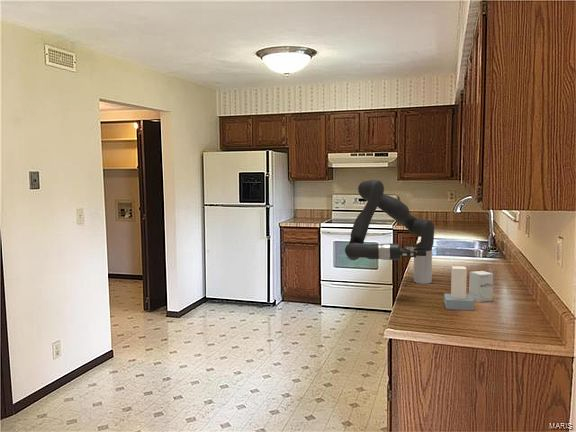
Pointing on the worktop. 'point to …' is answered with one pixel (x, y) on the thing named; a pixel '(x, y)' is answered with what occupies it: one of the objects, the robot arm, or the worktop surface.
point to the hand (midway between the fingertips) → (425, 251)
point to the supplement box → (481, 286)
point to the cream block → (458, 282)
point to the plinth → (458, 303)
